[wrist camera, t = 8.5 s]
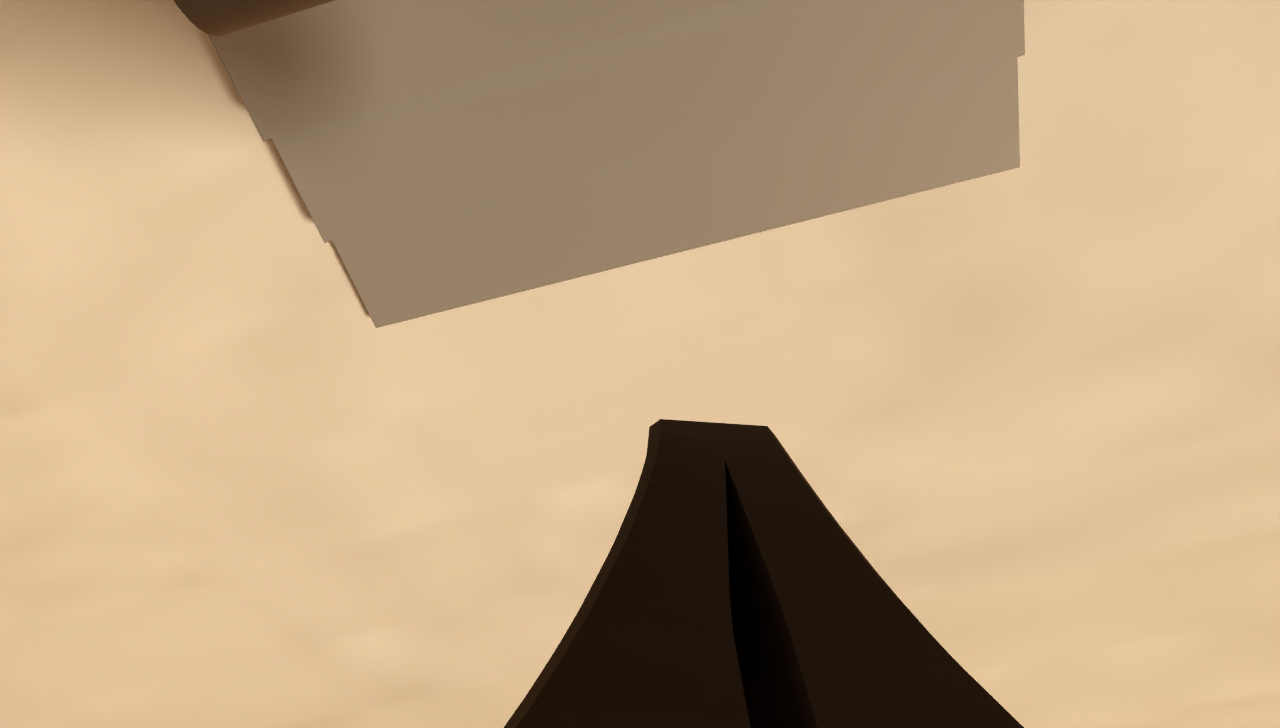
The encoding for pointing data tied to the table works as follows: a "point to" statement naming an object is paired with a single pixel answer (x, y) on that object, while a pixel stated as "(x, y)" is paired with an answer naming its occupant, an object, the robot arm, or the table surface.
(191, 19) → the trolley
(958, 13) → the dock
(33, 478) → the table surface
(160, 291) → the table surface
